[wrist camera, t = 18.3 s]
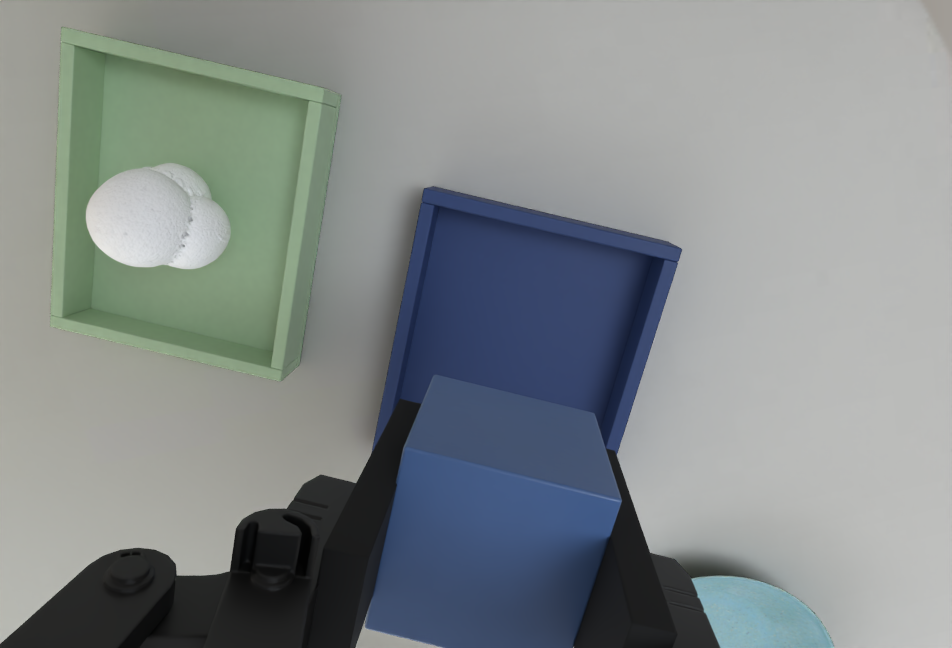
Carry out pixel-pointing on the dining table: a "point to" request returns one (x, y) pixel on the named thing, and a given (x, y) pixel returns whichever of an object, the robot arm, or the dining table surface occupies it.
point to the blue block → (494, 522)
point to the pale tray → (231, 185)
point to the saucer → (758, 615)
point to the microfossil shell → (158, 218)
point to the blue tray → (527, 307)
